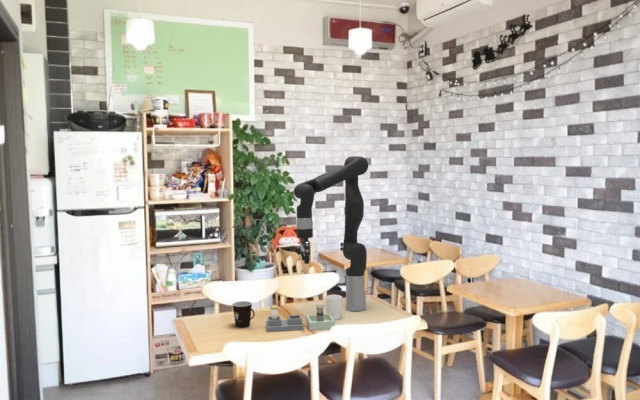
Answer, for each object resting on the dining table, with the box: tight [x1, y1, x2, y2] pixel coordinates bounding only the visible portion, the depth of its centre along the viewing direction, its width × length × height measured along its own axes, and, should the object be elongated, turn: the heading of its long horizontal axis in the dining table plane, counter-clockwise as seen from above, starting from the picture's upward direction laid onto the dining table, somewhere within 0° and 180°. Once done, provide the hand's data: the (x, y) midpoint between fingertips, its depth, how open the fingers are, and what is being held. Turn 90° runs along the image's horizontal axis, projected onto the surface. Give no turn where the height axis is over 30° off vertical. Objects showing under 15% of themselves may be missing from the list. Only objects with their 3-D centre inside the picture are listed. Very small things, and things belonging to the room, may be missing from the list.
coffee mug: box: [232, 300, 256, 329], centre depth 234 cm, size 12×9×10 cm
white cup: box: [325, 294, 343, 321], centre depth 245 cm, size 8×8×10 cm
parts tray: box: [306, 313, 336, 331], centre depth 234 cm, size 11×11×4 cm
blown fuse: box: [315, 304, 325, 322], centre depth 234 cm, size 3×3×8 cm
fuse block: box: [265, 314, 305, 333], centre depth 232 cm, size 16×9×4 cm, turn 99°
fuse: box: [269, 304, 279, 320], centre depth 231 cm, size 3×3×8 cm
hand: (305, 261), depth 243 cm, fingers open, 8 cm apart
